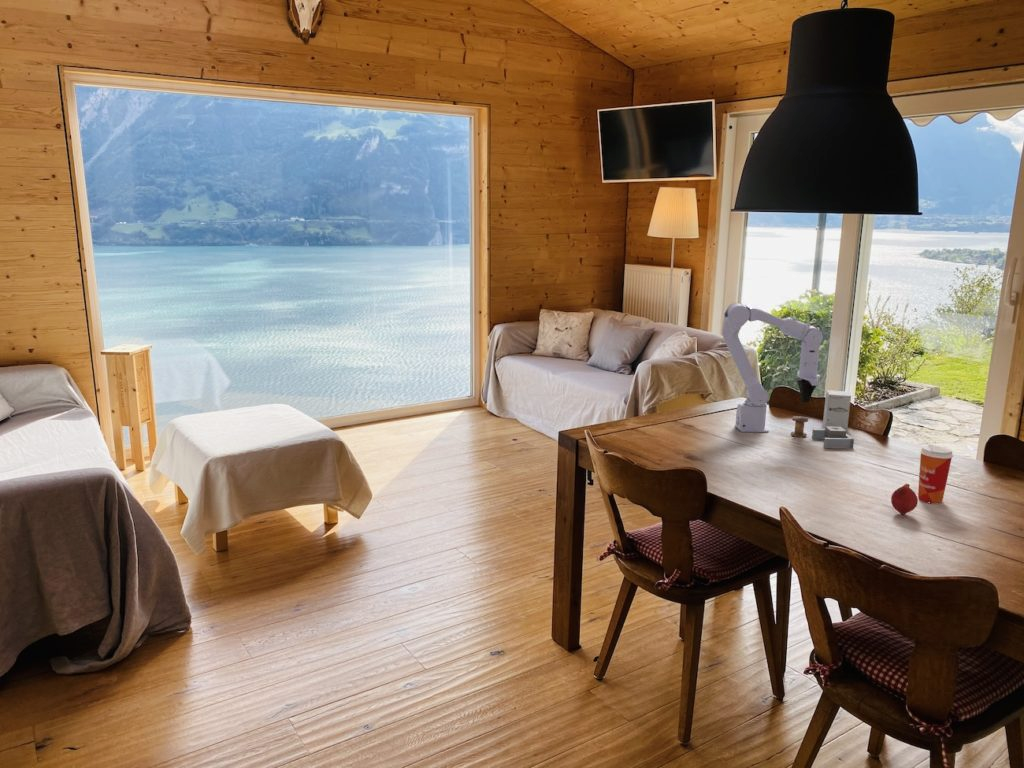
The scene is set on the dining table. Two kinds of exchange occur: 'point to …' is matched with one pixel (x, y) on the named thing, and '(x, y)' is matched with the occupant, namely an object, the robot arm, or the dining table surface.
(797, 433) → the bobbin
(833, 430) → the dice cube
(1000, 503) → the dining table surface
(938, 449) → the paper cup
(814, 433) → the notch block
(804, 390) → the robot arm
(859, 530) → the dining table surface
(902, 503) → the onion
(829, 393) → the supplement box
